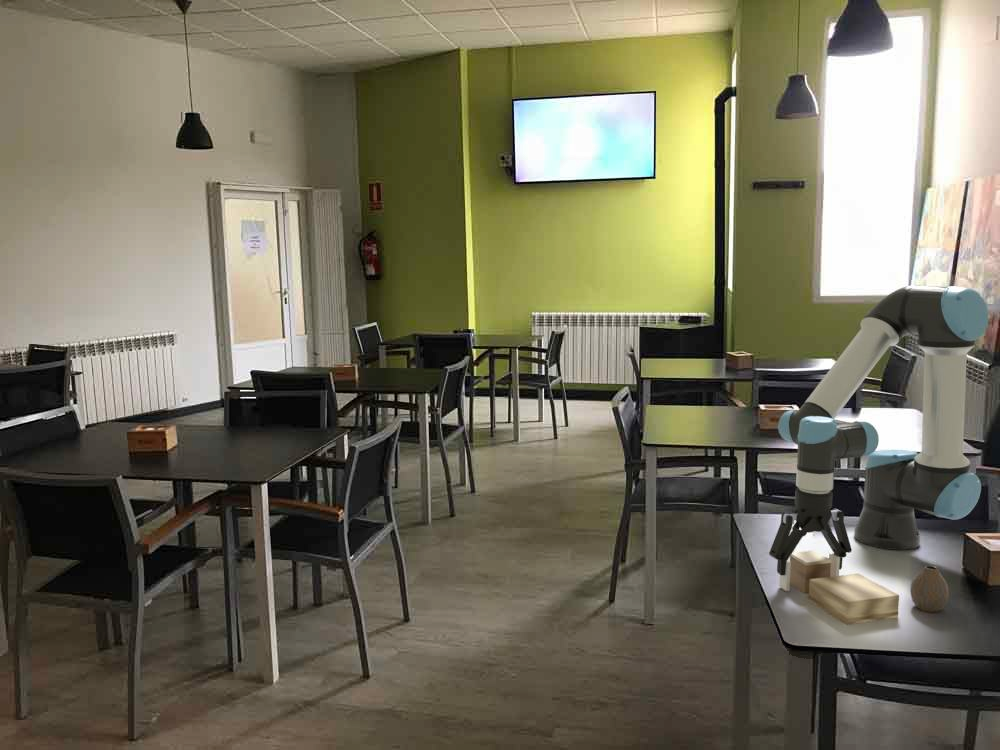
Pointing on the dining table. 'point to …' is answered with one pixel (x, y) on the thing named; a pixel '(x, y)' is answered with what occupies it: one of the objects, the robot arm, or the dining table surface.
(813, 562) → the pale wooden block
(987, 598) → the dining table surface
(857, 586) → the beech base
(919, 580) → the vase
